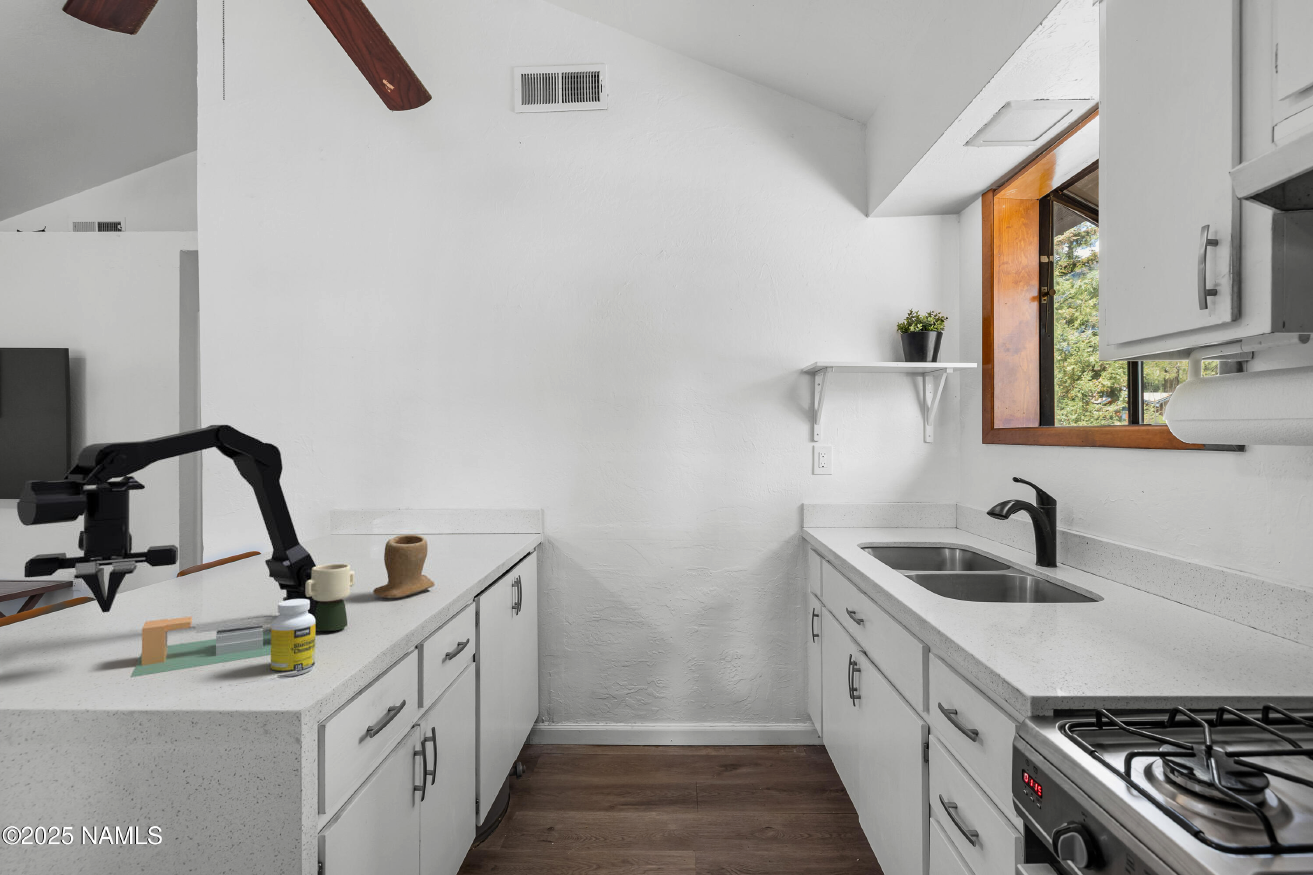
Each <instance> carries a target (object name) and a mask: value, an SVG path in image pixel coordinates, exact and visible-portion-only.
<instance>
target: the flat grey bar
mask: <svg viewBox="0 0 1313 875" xmlns="http://www.w3.org/2000/svg"><path fill="white" fill-rule="evenodd" d="M278 617H279V614H278V615H273V616H272V615H271V616H263V617H256V618H255V617H253V618H245V619H234V620H227V621H214V622H207V623H199V624H196V625H195V634H201V633H209V632H217V631H219V630H228V629H237V628H246V627H255V626H271V625H272V622H273V621H274V620H275V619H276V618H278Z"/></svg>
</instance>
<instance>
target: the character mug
mask: <svg viewBox="0 0 1313 875" xmlns="http://www.w3.org/2000/svg"><path fill="white" fill-rule="evenodd" d="M354 585H355V571H353V570H351V566H350V564H347V563H329V564H321V565H316V567H313V568H312V577H311V580H308V581H306V596H307V597H310V596H312V598H313V599H314V600H317V601H319V602H318V604H317V607H316V613H315V631H322V632H323V633H326V631H338V630H342V629H345V628H346V627H348V616H347V610H346V602H345V601H344V599H346V598H348V597H349V596H350V593H351V587H353V586H354Z"/></svg>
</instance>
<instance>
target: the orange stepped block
mask: <svg viewBox="0 0 1313 875" xmlns="http://www.w3.org/2000/svg"><path fill="white" fill-rule="evenodd" d="M192 624H193V616H185V617H177V618H169V619H168V618H163V619H155V620H147V621H145V622H144V624H143V626H142V628H141V654H142V666H143V665H149V664H156V663H162V662H165V659H166V656H167V646H168V631H174V630H175V631H176V630H183V629H190V628H192Z"/></svg>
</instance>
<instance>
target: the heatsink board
mask: <svg viewBox="0 0 1313 875" xmlns="http://www.w3.org/2000/svg"><path fill="white" fill-rule="evenodd" d="M267 656H271V630H270V631H269V630H268V631H264V628H263V626H255V627H246V628H237V629H228V630H219V631H216V635H215V638H212V639H205V640H198V641H191V642H185V643H177V644H169V645H167V656H166V659H165V662H162V663H156V664H149V665H143V666H142V653H141V654H140V656H139V657H138V658H139V659H138V660H137V663H136V665H135V667H134V670H133V671H132V673H131V675H130V678H135V677H141V676H142V677H143V676H149V675H153V674H160V673H166V672H167V673H168V672H172V671H179V670H185V669H190V668H191V669H192V668H197V667H198V668H199V667H204V666H209V665H215V664H223V663H229V662H234V661H241V660H247V659H253V658H254V659H255V658H259V657H260V658H261V657H267Z"/></svg>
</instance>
